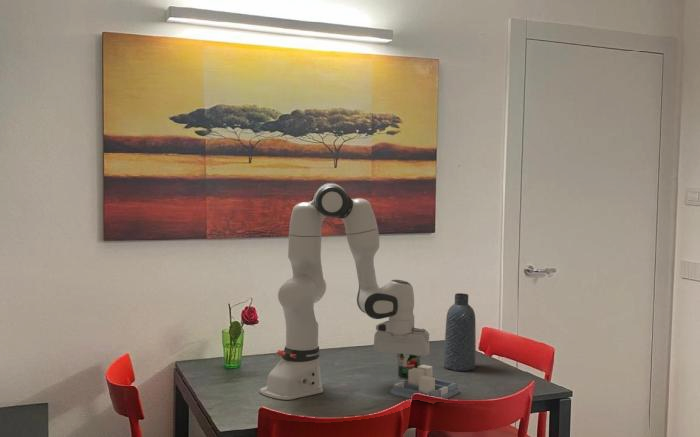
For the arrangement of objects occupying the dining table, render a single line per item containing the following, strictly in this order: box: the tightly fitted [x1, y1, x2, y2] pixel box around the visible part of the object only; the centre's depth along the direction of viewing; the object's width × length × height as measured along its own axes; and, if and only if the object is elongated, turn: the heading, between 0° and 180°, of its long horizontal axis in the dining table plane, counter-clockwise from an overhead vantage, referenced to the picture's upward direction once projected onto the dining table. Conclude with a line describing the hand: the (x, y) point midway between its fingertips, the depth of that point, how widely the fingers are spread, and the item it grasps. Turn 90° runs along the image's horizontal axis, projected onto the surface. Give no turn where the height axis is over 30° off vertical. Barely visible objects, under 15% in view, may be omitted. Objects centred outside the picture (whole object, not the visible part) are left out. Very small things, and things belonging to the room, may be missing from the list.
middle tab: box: [408, 368, 424, 386], centre depth 267 cm, size 4×4×6 cm
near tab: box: [419, 376, 436, 394], centre depth 257 cm, size 4×4×6 cm
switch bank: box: [390, 378, 461, 399], centre depth 264 cm, size 17×17×3 cm
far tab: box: [417, 364, 434, 377], centre depth 271 cm, size 4×4×6 cm
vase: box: [443, 292, 477, 372], centre depth 297 cm, size 12×12×28 cm
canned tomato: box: [397, 354, 421, 381], centre depth 283 cm, size 8×8×11 cm
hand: (401, 365), depth 271 cm, fingers closed
